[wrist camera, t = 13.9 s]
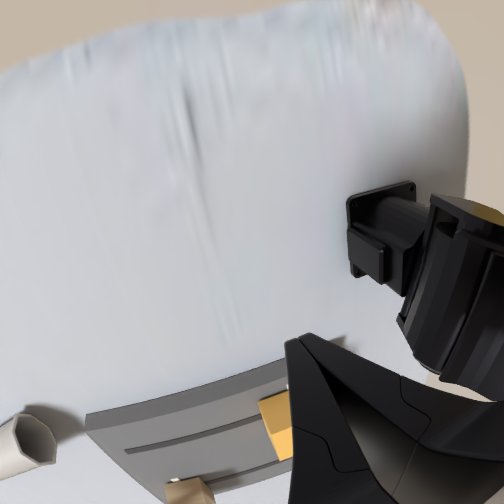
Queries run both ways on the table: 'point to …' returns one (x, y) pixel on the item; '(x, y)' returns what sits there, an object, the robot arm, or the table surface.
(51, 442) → the tube
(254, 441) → the fader panel
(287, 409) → the block
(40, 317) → the table surface
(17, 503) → the table surface
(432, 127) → the table surface
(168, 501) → the oak fader
